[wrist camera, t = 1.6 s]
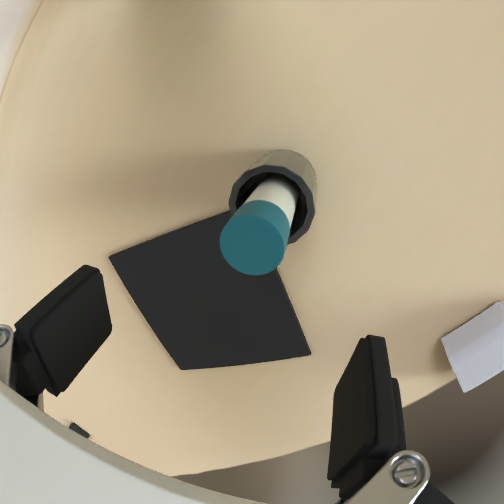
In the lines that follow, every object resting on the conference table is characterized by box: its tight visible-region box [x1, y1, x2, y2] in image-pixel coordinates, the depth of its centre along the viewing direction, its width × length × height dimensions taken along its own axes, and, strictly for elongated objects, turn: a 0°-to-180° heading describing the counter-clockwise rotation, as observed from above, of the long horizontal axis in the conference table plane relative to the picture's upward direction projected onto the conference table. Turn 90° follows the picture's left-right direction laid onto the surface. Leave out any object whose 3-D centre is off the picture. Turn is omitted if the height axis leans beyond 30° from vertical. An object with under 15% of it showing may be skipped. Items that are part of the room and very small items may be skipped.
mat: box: [109, 211, 311, 370], centre depth 36 cm, size 20×20×1 cm
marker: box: [220, 172, 301, 275], centre depth 21 cm, size 3×3×14 cm
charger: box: [441, 302, 504, 393], centre depth 26 cm, size 5×9×15 cm
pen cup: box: [229, 150, 317, 244], centre depth 24 cm, size 6×6×8 cm
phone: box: [69, 423, 89, 438], centre depth 78 cm, size 7×1×15 cm
